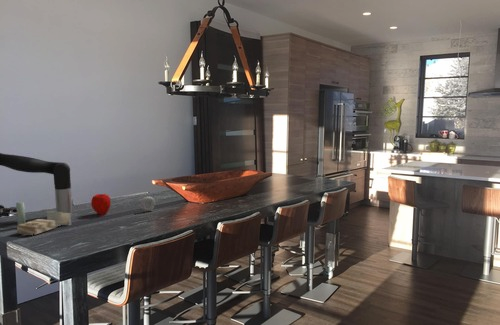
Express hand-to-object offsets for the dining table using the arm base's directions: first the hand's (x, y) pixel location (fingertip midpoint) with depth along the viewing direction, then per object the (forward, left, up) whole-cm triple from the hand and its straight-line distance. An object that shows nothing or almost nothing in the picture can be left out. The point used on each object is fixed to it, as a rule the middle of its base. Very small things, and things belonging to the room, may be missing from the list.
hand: (15, 212), depth 229 cm
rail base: (+1, +19, -8) cm, 21 cm away
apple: (-39, +27, -8) cm, 48 cm away
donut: (-55, +51, -8) cm, 76 cm away
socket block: (+4, +19, -8) cm, 21 cm away
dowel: (0, +4, -8) cm, 9 cm away
